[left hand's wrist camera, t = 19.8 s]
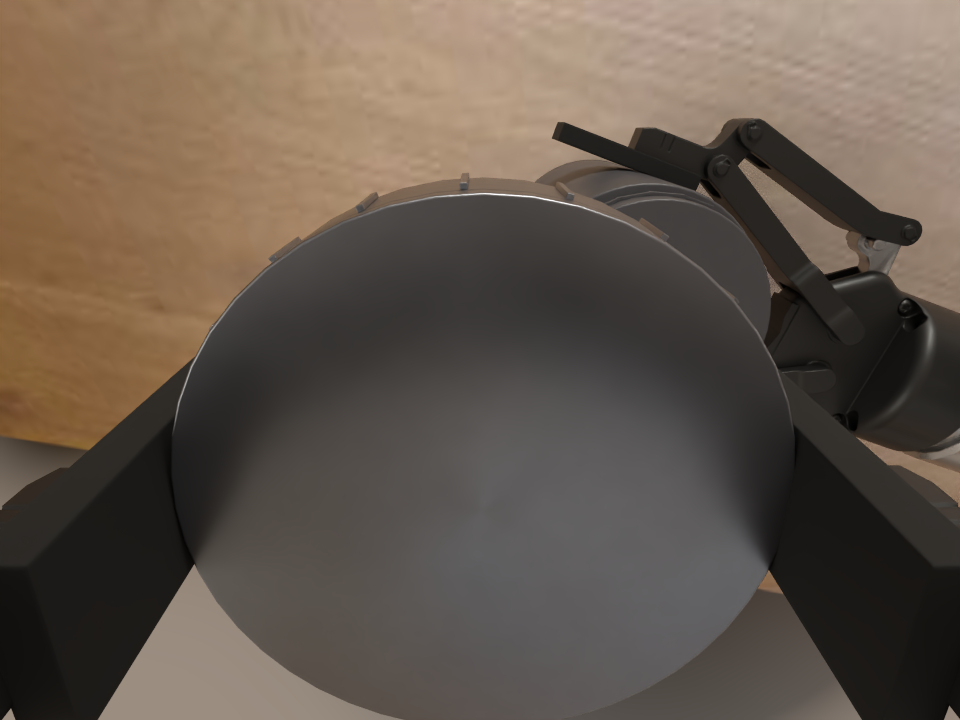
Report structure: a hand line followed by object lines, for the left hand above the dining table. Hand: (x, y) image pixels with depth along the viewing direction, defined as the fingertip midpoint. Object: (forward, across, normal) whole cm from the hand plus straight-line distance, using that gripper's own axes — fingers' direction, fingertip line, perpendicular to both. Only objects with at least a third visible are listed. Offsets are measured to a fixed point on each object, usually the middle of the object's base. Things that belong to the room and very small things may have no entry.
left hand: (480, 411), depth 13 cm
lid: (-3, 0, 0) cm, 3 cm away
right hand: (+18, -2, 0) cm, 18 cm away
